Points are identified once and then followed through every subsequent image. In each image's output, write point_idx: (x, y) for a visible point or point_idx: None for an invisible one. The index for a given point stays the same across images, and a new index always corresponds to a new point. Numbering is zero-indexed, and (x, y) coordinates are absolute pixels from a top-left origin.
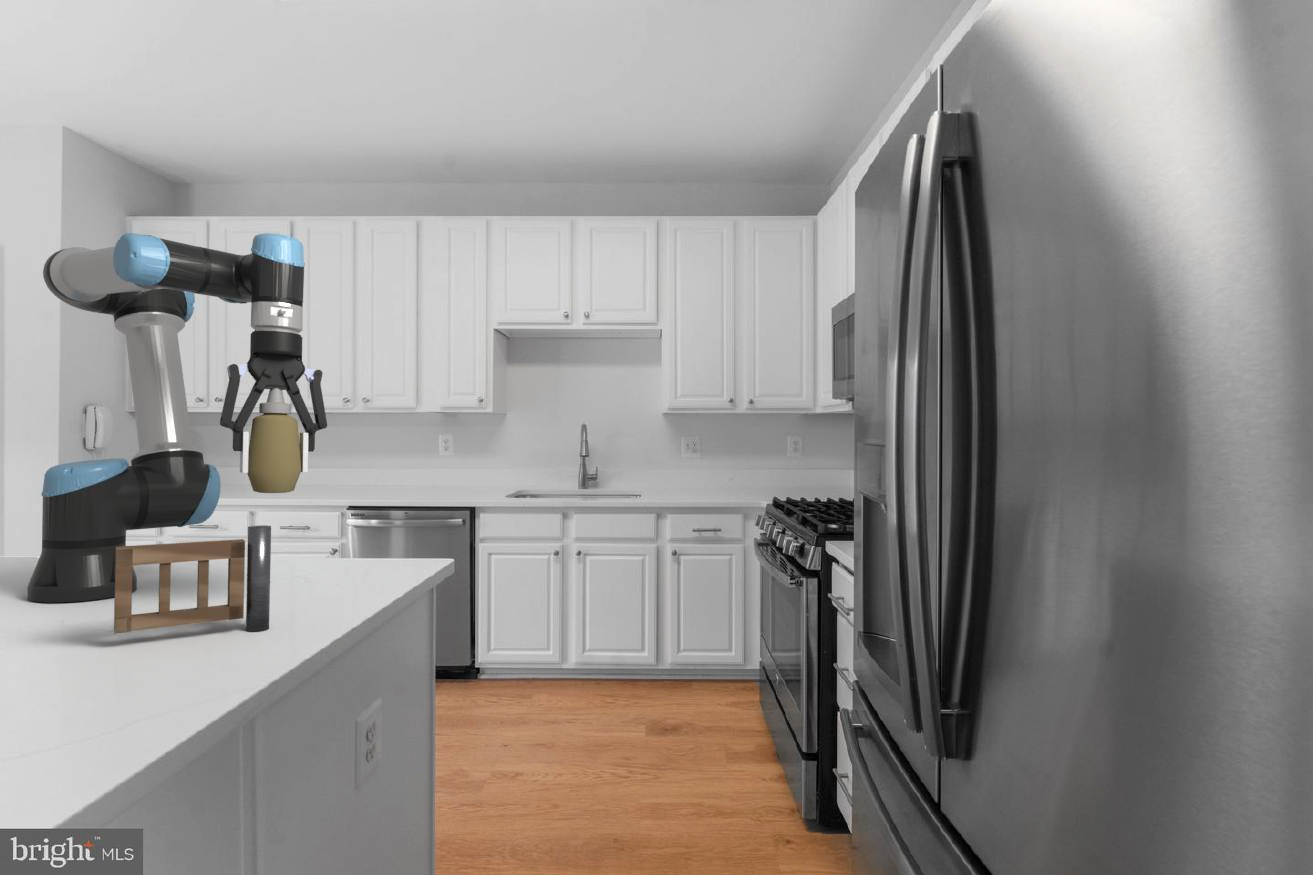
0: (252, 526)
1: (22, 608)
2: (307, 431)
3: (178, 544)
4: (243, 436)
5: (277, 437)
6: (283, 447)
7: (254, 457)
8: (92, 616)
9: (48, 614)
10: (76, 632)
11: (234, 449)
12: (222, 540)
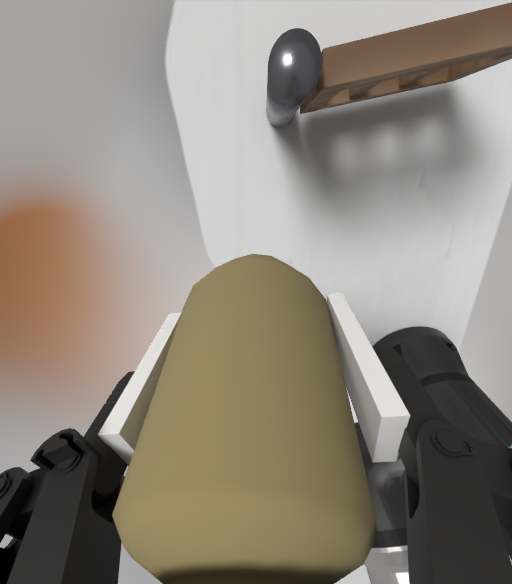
0: (309, 81)
1: (460, 319)
2: (103, 452)
3: (468, 18)
4: (395, 390)
5: (238, 352)
6: (217, 317)
7: (321, 314)
8: (420, 263)
9: (450, 287)
10: (452, 190)
11: (395, 355)
12: (366, 75)
